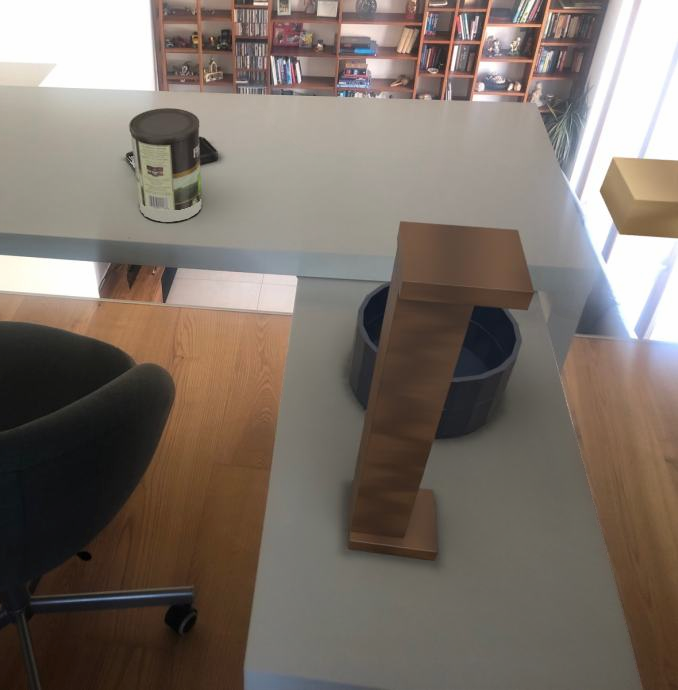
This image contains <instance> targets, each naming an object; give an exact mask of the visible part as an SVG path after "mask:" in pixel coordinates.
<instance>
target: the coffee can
mask: <svg viewBox="0 0 678 690" xmlns="http://www.w3.org/2000/svg"><path fill="white" fill-rule="evenodd" d="M128 128H129V133H130V137H131V145H132V151H133V155H134V163H135V172H136V173H135V172H134V173H135V179H136V181H135V182H136V188H137V197H138V202H139V201H140V203H142V204H143V205H144V206H146V207H148V208H151V209H155V210H161V211H174V210H181V209H185V208H188V207H191V206H193V205H195V204H196V203H198V202H199V201H200V199H201V196H202V176H201V175H202V174H201V164H200V149H199V137H200V120H199V118H198V116H197V115H196V114H194V113H193V112H191V111H188V110H186V109H181V108H174V107H173V108H169V107H165V108H155V109H149V110H146V111H144V112H141V113H139V114H137V115H135V116H134V117H133V118H132V119H131V120H130V121H129V124H128Z"/></svg>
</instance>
